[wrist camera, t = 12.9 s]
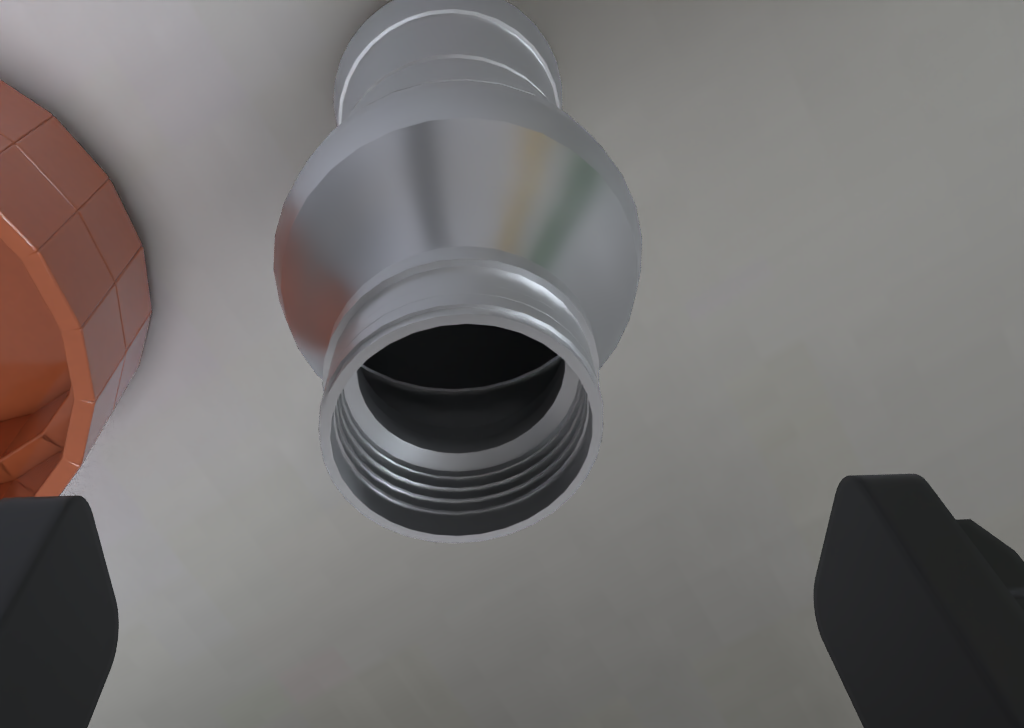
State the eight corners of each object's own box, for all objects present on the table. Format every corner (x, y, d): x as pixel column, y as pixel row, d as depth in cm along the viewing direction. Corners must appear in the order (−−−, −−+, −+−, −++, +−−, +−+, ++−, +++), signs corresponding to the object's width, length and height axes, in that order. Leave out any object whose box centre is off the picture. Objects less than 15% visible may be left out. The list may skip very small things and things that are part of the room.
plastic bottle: (306, 22, 28) (85, 315, 11) (515, -61, 27) (645, 106, 10) (390, 210, 31) (328, 674, 14) (580, 140, 30) (766, 537, 13)
